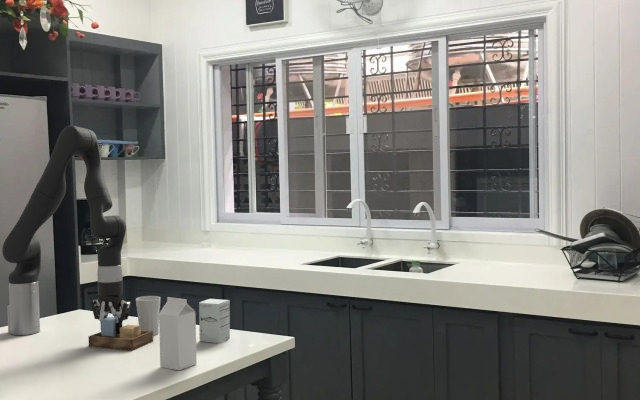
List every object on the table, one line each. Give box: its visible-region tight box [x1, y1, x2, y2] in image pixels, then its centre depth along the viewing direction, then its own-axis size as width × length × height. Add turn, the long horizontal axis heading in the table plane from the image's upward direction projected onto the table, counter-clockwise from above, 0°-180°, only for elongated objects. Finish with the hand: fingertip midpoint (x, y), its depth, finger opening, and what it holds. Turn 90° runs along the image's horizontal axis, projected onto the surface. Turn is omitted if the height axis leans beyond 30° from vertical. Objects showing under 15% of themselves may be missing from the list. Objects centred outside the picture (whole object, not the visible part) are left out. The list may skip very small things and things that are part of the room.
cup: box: [135, 295, 161, 337], centre depth 235 cm, size 8×8×12 cm
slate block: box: [100, 316, 119, 337], centre depth 223 cm, size 4×4×5 cm
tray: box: [88, 330, 154, 352], centre depth 222 cm, size 16×12×3 cm
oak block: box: [120, 324, 141, 339], centre depth 221 cm, size 4×4×5 cm
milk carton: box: [158, 296, 198, 371], centre depth 197 cm, size 7×7×19 cm
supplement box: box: [198, 298, 231, 344], centre depth 226 cm, size 7×7×13 cm
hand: (111, 333), depth 224 cm, fingers closed on slate block, 4 cm apart
